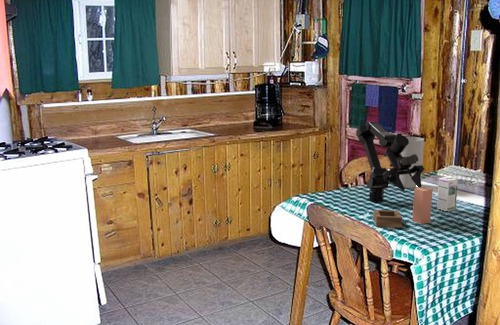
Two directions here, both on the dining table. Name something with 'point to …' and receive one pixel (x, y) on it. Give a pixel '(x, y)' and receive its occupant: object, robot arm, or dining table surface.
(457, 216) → the dining table surface
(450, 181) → the syrup box
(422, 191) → the square peg
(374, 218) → the socket block
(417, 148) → the cylinder vase
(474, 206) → the dining table surface
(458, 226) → the dining table surface
